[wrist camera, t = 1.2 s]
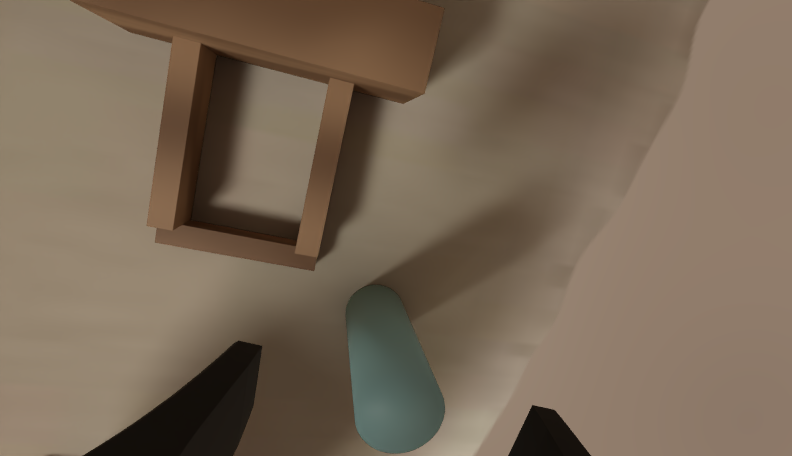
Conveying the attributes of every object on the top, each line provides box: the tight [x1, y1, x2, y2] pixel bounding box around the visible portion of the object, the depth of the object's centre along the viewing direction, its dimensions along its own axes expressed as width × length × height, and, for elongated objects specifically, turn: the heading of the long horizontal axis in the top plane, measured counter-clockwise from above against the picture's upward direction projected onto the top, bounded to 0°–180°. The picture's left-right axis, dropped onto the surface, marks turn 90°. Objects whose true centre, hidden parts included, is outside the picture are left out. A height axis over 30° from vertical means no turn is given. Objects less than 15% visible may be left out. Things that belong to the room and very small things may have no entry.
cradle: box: [70, 0, 445, 271], centre depth 18 cm, size 12×12×5 cm
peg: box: [346, 285, 445, 453], centre depth 18 cm, size 3×3×8 cm
